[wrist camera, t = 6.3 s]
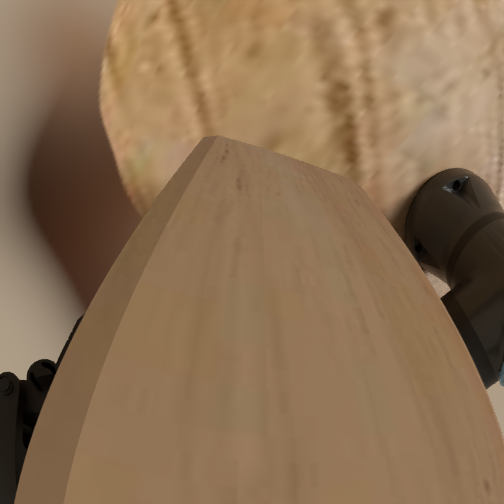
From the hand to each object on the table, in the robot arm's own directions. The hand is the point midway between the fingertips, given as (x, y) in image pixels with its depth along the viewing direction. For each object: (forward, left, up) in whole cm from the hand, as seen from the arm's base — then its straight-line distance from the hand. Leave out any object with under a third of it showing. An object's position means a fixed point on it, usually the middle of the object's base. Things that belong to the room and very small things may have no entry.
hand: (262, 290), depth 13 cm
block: (0, 0, -6) cm, 6 cm away
